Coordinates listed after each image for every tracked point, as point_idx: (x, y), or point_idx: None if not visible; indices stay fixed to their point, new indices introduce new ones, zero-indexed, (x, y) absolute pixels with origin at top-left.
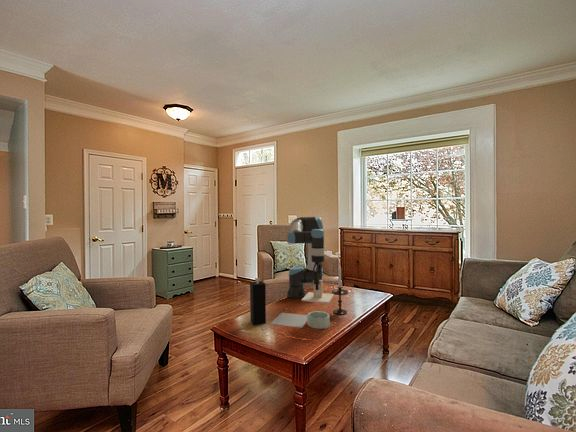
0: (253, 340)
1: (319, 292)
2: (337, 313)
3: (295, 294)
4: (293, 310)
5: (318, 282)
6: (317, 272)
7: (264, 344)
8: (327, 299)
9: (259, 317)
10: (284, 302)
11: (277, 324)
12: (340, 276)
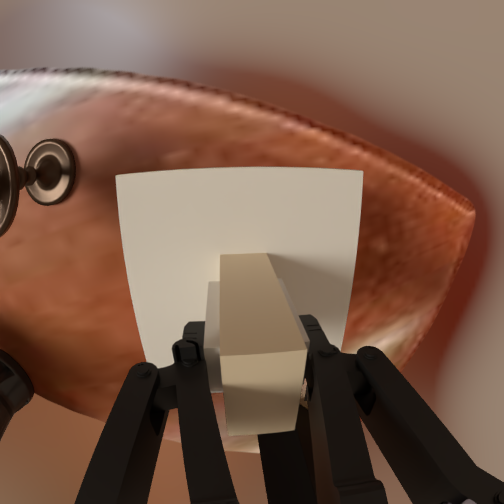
0: (396, 366)
1: (287, 291)
2: (72, 175)
3: (19, 384)
4: (118, 363)
5: (361, 360)
6: (469, 462)
7: (416, 333)
8: (300, 193)
9: (305, 422)
10: (72, 399)
11: None
12: None
